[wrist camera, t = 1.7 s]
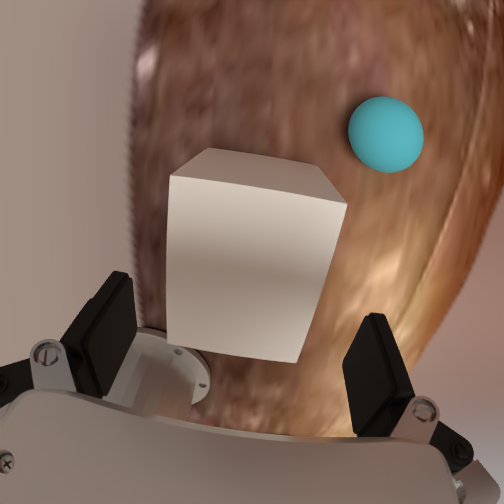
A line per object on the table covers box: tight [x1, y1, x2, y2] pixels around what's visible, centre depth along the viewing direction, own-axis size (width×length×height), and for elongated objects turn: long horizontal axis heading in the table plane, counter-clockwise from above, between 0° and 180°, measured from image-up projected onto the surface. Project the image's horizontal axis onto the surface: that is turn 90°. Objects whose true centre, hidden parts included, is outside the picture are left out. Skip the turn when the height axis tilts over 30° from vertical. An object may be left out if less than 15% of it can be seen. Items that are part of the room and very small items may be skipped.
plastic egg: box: [348, 96, 424, 173], centre depth 17 cm, size 5×5×5 cm
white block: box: [166, 148, 347, 363], centre depth 19 cm, size 10×8×9 cm
